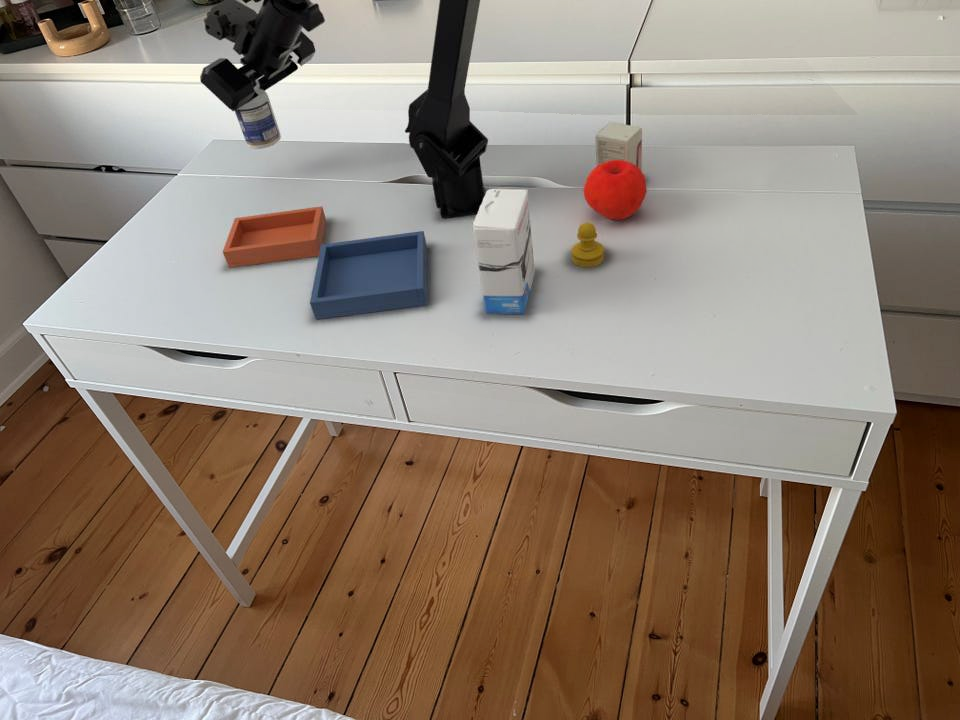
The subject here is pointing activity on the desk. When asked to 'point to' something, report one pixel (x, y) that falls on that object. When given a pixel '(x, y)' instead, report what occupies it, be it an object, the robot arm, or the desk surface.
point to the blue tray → (370, 275)
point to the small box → (619, 144)
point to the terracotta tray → (275, 237)
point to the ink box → (504, 250)
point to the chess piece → (587, 247)
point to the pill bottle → (258, 121)
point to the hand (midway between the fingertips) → (243, 100)
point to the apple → (615, 189)
